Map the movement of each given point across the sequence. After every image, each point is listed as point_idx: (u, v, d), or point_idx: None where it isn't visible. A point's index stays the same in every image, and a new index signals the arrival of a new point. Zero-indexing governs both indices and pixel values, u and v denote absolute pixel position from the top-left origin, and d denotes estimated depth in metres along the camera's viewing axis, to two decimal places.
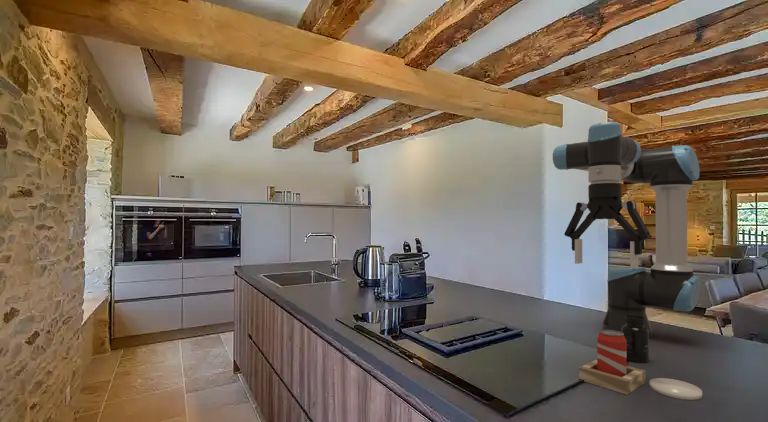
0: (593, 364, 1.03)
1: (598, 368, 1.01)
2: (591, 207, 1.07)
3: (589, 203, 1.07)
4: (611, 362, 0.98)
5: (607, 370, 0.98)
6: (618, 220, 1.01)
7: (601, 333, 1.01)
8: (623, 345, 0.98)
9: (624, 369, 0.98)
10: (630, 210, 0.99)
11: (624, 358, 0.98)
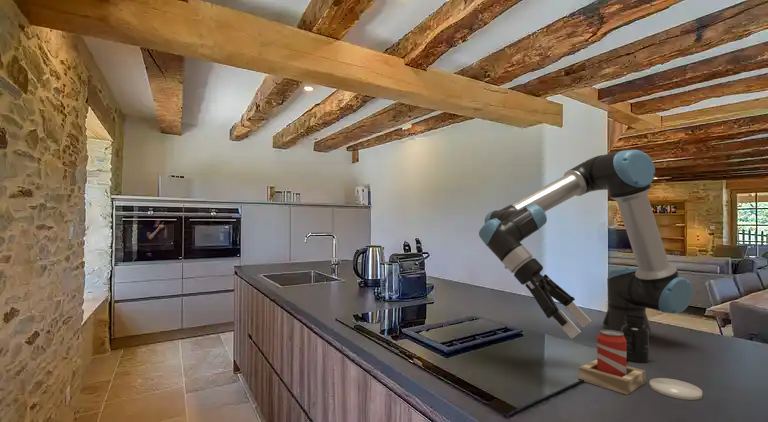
0: (593, 364, 1.03)
1: (598, 368, 1.01)
2: None
3: None
4: (611, 362, 0.98)
5: (607, 370, 0.98)
6: None
7: (601, 333, 1.01)
8: (623, 345, 0.98)
9: (624, 369, 0.98)
10: None
11: (624, 358, 0.98)
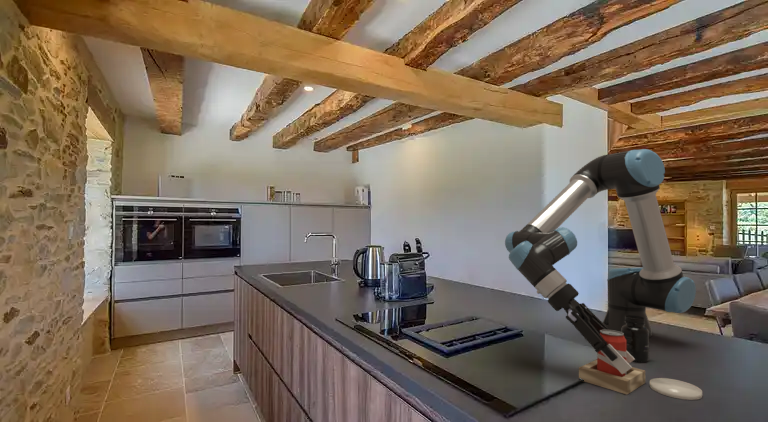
0: (593, 364, 1.03)
1: (598, 368, 1.01)
2: None
3: None
4: None
5: (607, 370, 0.98)
6: None
7: (601, 333, 1.01)
8: (623, 345, 0.98)
9: None
10: None
11: (624, 358, 0.98)
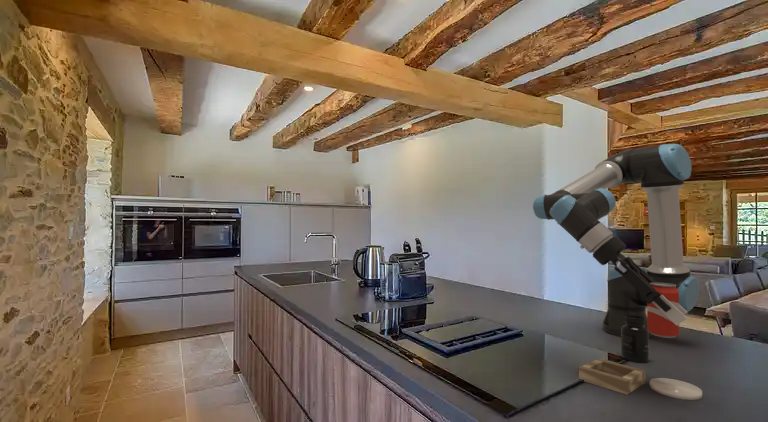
0: (593, 364, 1.03)
1: (648, 321, 0.97)
2: None
3: None
4: (663, 314, 0.94)
5: (659, 322, 0.94)
6: None
7: (652, 285, 0.96)
8: (676, 296, 0.93)
9: None
10: None
11: None
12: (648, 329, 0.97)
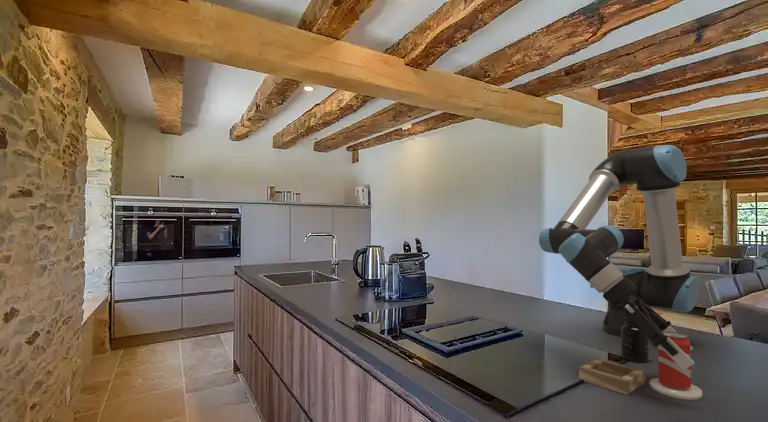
0: (593, 364, 1.03)
1: (660, 372, 0.96)
2: None
3: None
4: (675, 365, 0.93)
5: (671, 374, 0.93)
6: None
7: None
8: (688, 348, 0.93)
9: (689, 373, 0.93)
10: None
11: None
12: (659, 379, 0.96)
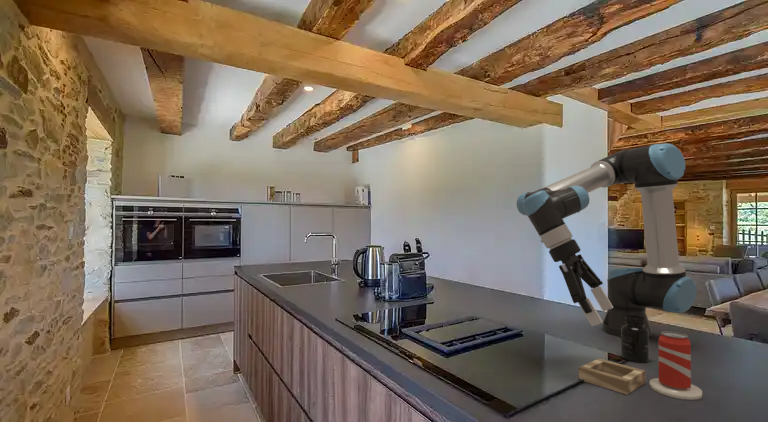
0: (593, 364, 1.03)
1: (660, 372, 0.96)
2: None
3: None
4: (675, 365, 0.93)
5: (671, 374, 0.93)
6: None
7: (663, 335, 0.96)
8: (688, 348, 0.93)
9: (689, 373, 0.93)
10: None
11: (689, 361, 0.93)
12: (659, 379, 0.96)
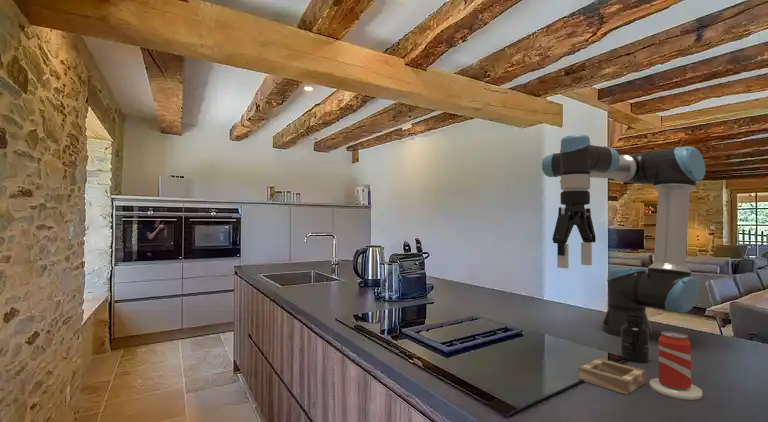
0: (593, 364, 1.03)
1: (660, 372, 0.96)
2: None
3: None
4: (675, 365, 0.93)
5: (671, 374, 0.93)
6: None
7: (663, 335, 0.96)
8: (688, 348, 0.93)
9: (689, 373, 0.93)
10: None
11: (689, 361, 0.93)
12: (659, 379, 0.96)
